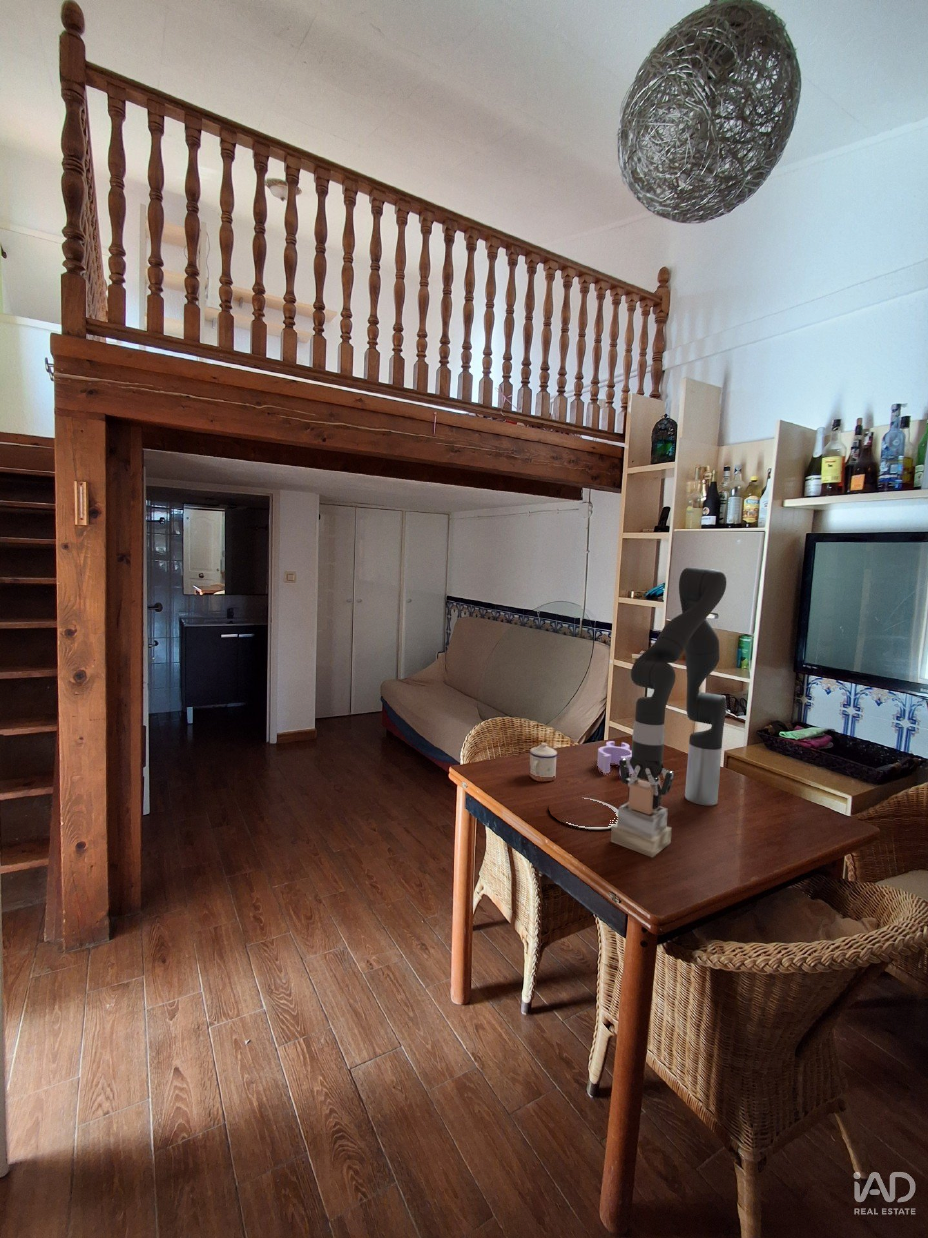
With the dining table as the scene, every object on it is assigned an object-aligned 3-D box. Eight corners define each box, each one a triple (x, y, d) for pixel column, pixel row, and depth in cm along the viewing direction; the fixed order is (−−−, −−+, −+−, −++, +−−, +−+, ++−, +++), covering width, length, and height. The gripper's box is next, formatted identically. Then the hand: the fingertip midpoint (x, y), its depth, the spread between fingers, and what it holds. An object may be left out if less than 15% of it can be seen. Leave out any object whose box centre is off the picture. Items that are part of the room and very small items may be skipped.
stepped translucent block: (630, 828, 150) (632, 795, 149) (670, 843, 142) (673, 808, 142) (610, 841, 142) (613, 807, 141) (652, 857, 134) (655, 821, 134)
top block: (637, 801, 145) (639, 779, 145) (658, 808, 141) (660, 785, 141) (628, 807, 141) (629, 784, 141) (649, 814, 137) (650, 791, 137)
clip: (599, 757, 209) (601, 739, 209) (634, 762, 206) (635, 744, 205) (595, 775, 190) (596, 755, 190) (633, 780, 187) (634, 760, 186)
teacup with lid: (535, 771, 191) (537, 737, 190) (560, 777, 186) (562, 743, 185) (519, 781, 181) (521, 746, 180) (544, 787, 176) (546, 751, 175)
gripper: (682, 743, 138) (677, 809, 139) (628, 730, 147) (624, 792, 149) (670, 749, 132) (665, 818, 134) (614, 735, 142) (610, 800, 143)
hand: (643, 804), depth 141 cm, fingers closed on top block, 5 cm apart
